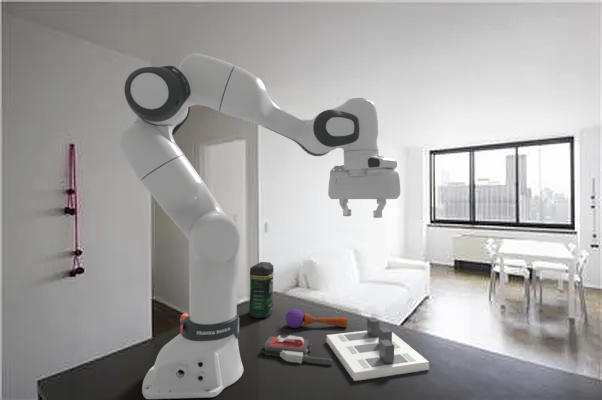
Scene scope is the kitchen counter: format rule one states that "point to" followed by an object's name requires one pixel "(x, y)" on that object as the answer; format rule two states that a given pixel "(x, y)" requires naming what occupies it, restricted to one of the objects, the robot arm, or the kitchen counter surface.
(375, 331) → the breaker left
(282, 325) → the kitchen counter surface
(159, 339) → the kitchen counter surface
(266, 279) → the coffee jar
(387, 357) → the block
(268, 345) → the walkie-talkie
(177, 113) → the robot arm
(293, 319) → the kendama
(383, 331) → the block
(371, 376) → the breaker panel
